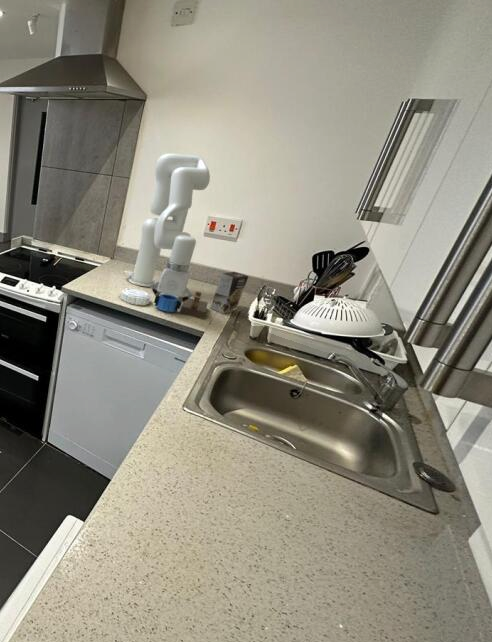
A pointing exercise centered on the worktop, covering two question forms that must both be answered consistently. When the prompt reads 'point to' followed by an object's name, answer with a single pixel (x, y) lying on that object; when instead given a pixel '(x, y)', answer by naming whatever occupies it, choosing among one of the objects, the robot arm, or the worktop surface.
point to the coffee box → (229, 292)
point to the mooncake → (135, 296)
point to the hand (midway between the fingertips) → (166, 307)
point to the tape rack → (194, 306)
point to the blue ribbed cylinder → (167, 302)
